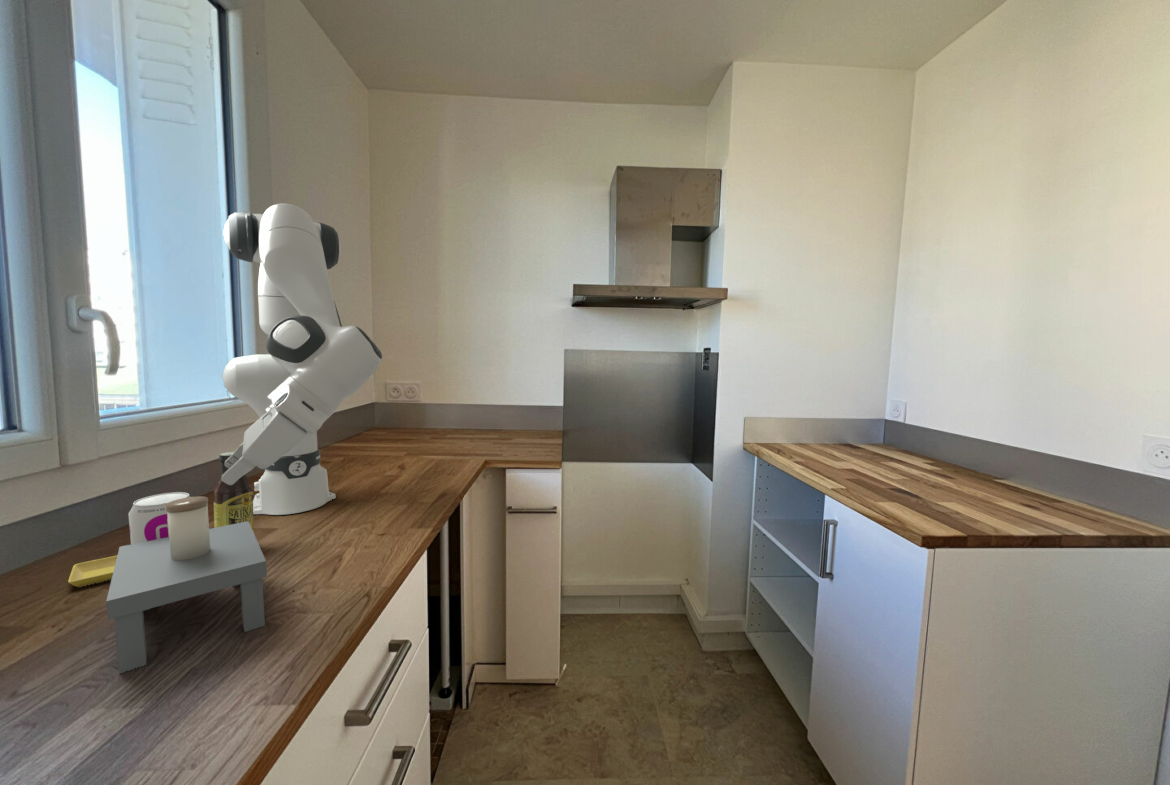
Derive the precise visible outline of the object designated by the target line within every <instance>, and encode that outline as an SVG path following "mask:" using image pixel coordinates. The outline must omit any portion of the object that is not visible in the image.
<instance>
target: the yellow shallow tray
mask: <svg viewBox="0 0 1170 785" xmlns="http://www.w3.org/2000/svg"><path fill="white" fill-rule="evenodd" d="M117 555H118V554H117ZM117 555H113V556H108V557H103V558H98V559H93V560H88V561H83V562H79V563H76V564H74V565H73V566H72V569H71V572H70V574H69V578H68V580H67V582H68V583H69V585H72V586H74V587H76V588H82V587H83V586H84V587H88V586H90V585H91V584H92V585H95V583H96V584H100V583H105V582H108V580H109V581H111V580H112V576H113V572H114V568H115V564H116V559H117ZM104 581H105V582H104ZM87 585H88V586H87Z"/></svg>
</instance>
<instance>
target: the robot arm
mask: <svg viewBox="0 0 1170 785" xmlns="http://www.w3.org/2000/svg"><path fill="white" fill-rule="evenodd" d="M223 237H224V242H225V245H226V246H227V248H228V249H229V251H230V252H229V253H231V255H232V256H233V257H235V259H238V260H241V261H244V262H248V263H253V262H255V263H259V264H260V265H259V271H258V279H257V280H258V281H257V300H258V321H259V322H258V323H259V324H258V325H259V328H260V329H261V330H262V332H263V333H265V335H267V337H266V338H267V339H266V343H265V344H266V345H265V346H266V350H267V354H263V353H262V354H257V353H256V354H250V355H242V356H237V357H233V358H232V359H230V361H228V362H227V364H225V367H224V369H223V372H222V381H223V385H224V387H225V388H226V390H227V391H228V393H229V394H231V395H232V396H234V397H235V398H237V399H239V400H241V401H242V402H243V403H245V404H246V405H248V406H249V407H251V409H252V410H253V411H254V412H255V413H256V415H257V416H258V419H257V420H256V421H254V423H252V424H251V425H249V427H248V428H247V429H246V430H245V431H244V432H243V441H242V443H241V444H240V445H239V446H238V447H236V449H235V450H234V451H233V452H234V453H233V454H232V455H231V456H230V457H229V458H228V459H227V460H226V461H225V464H224V465H225V467H227V468H229V469H228V470H227V471H226V472H225V473H224V474H223V475H222V477H221V476H220V479H221V480H222V481H223V482H225V483H226V484H228V485H233V484H234V483H235V482H236V481H237V480H238V479H239V478H241V477H242V476H243V475H246V474H248V473H249V472H251V471H253V470H254V468H256V467H257V468H258V469H261V470H264V472H263V474H262V475H261V476H260V479H258V481H255V482H253V487H254V488H253V489H254V492H259V493H256V494H254V496H253V515H271V516H274V515H275V516H283V515H291V514H298V513H304V512H307V511H311V510H315V509H317V508H320V507H322V506H323V505H325V504H327V503H328V502H331V501H332V499H333V500H334V499H336V493H334V492H331V491H329V490H330V489H329V479H328V471H327V469H326V468H325V467H324V466H322V465H321V453H320V449H319V448H318V434H317V432H318V431H319V430H320V429H321V428H322V426H323V424H324V423H325V422H326V421H327V420H328V419H329V418H331V416H332V415H333V414H334V413H335V412H337V410H338V409H339V407H340V405H341V404H342V402H343V401H344V400H345V399H347V398H349V397H350V396H351V395H354V394H355V393H356V392H357V391H358V390H359V389H361V387H362V386H363V385H364V384H365V383H366V382H367V381H368V380H369V379H370V378H371V377H372V376H373V374H374V373H375V372H376V371H377V369H378V368H379V366H380V365H381V363H382V360H383V354H382V352H381V350H380V349H379V347H378V346H377V345H376V344H375V342H373V340H372V339H371V337H369V336H368V334H367V333H366V332H365V331H364V330H363V329H361V328H360V327H359V326H356V325H347V326H343V325H342V321H341V317H340V314H339V311H338V308H337V305H336V301H335V299H334V293H333V289H332V285H331V282H330V277H329V273H328V270H330V269H332V268H334V267H335V266H337V264H338V262H339V259H340V257H341V255H342V242H341V240H340V237H339V233H338V232H337V231H336V229H335V228H334V227H333V226H331V225H328V224H326V223H323V222H321V221H320V222H314V220H313V219H312V217H311V216H310V214H309V213H308V212H307V211H305V210H304V209H303V208H302V207H299V206H297V205H295V204H292V203H288V202H287V203H283V202H282V203H276V204H275V203H274V204H273V205H270V206H269V207H267V209H266V210H265V211H264V212H263V213H252V212H251V211H237V212H236V211H235V212H233V213H231V214H230V215H228V219H227V221H226V222H225V224H224V228H223Z"/></svg>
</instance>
